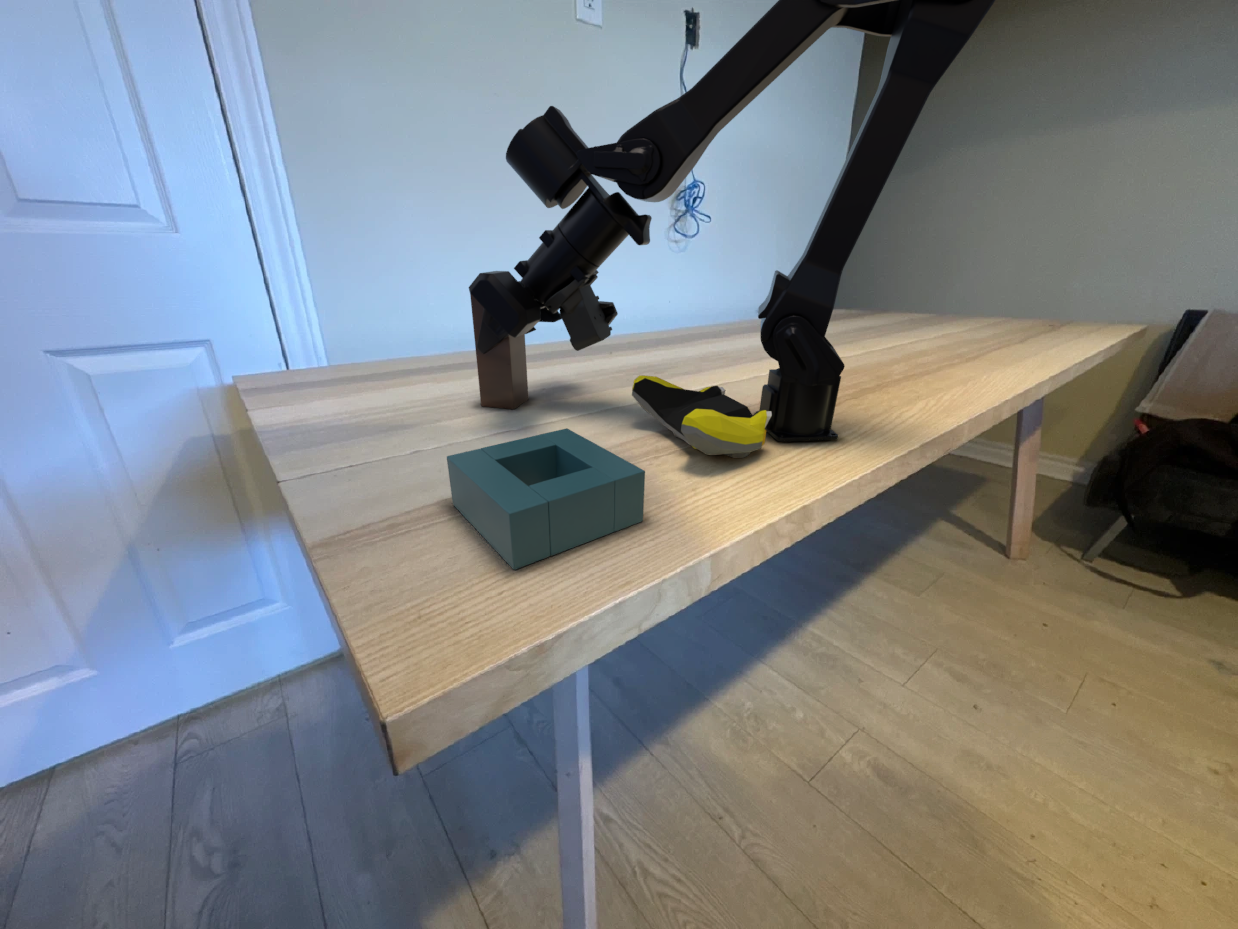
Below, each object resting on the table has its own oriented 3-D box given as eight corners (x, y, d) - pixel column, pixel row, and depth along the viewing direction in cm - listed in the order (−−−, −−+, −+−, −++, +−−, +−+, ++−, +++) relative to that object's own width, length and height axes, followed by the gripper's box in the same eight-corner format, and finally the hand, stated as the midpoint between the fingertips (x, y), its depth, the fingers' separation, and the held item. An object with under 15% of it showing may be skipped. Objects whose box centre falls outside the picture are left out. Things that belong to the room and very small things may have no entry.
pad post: (528, 399, 63) (522, 287, 58) (514, 409, 59) (505, 291, 54) (497, 396, 64) (488, 286, 59) (480, 406, 60) (469, 289, 55)
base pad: (568, 471, 44) (566, 427, 43) (643, 521, 37) (645, 470, 35) (452, 504, 39) (446, 455, 37) (513, 570, 31) (509, 513, 30)
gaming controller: (689, 479, 43) (787, 463, 47) (694, 417, 41) (797, 405, 44) (624, 422, 56) (704, 412, 59) (625, 372, 54) (709, 365, 57)
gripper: (609, 318, 45) (503, 424, 52) (650, 296, 62) (565, 379, 69) (520, 218, 44) (423, 341, 51) (586, 222, 60) (506, 315, 67)
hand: (489, 346), depth 59 cm, fingers closed on pad post, 4 cm apart
